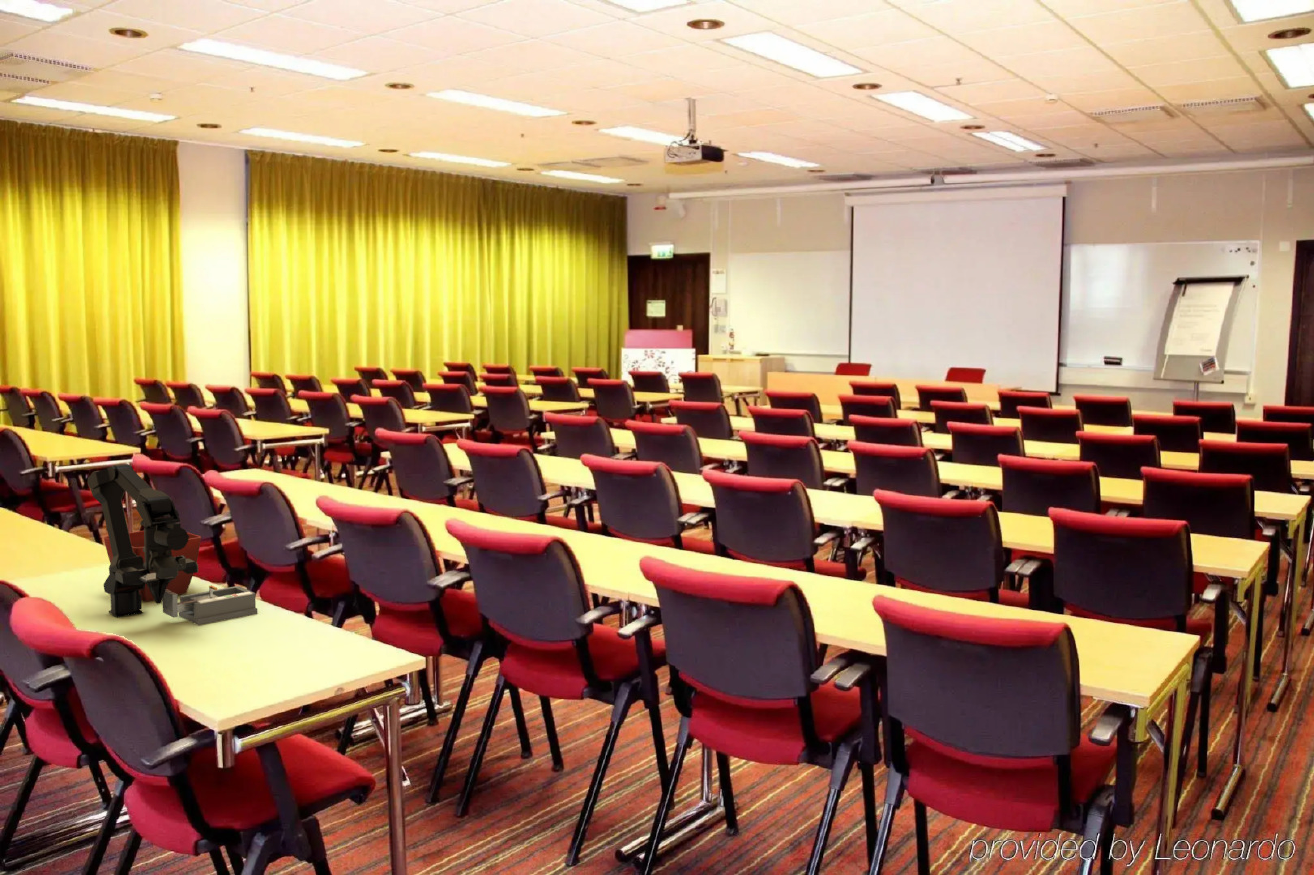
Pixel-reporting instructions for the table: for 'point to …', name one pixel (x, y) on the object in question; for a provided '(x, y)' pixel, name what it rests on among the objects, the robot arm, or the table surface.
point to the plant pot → (189, 552)
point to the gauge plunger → (173, 607)
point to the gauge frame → (220, 605)
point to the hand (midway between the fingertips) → (158, 603)
